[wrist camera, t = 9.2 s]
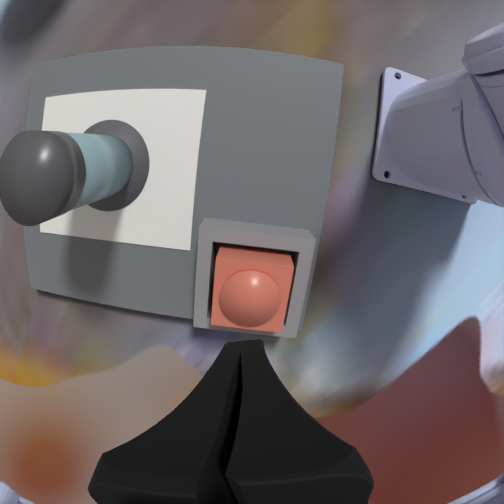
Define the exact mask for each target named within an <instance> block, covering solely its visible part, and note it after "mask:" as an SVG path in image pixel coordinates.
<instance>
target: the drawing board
mask: <svg viewBox="0 0 504 504" xmlns="http://www.w3.org/2000/svg"><path fill="white" fill-rule="evenodd" d="M343 70H344V64H340V63H336V62H331V61H327V60H322V59H317V58H311V57H306V56H300V55H294V54H288V53H281V52H274V51H266V50H257V49H246V48H234V47H217V46H155V47H138V48H126V49H116V50H107V51H100V52H92V53H86V54H80V55H74V56H69V57H64V58H59V59H54V60H49V61H45V62H41V63H37V64H35V65H34V70H33V75H32V81H31V86H30V92H29V99H28V106H27V113H26V122H25V131H28V130H39V131H60V132H66V133H85V134H100V135H112V136H116V137H118V138H120V139H122V140H123V141H124V142H125V143H126V144H127V145H128V147H129V149H130V151H131V153H132V157H133V172H132V176H131V178H130V180H129V182H128V184H127V185H126V187H125V188H124V189H123V190H122V191H120V192H119V193H117V194H115V195H113V196H110V197H107V198H104V199H101V200H98V201H95V202H92V203H90V204H87V205H84V206H81V207H79V208H76V209H73V210H71V211H68V212H67V213H65V214H63V215H61V216H58V217H56V218H53V219H51V220H48V221H46V222H43V223H41V224H38V225H36V226H24V225H23V227H24V239H25V250H26V259H27V267H28V274H29V281H30V287H31V288H34V289H38V290H42V291H46V292H50V293H54V294H59V295H63V296H67V297H72V298H77V299H81V300H86V301H91V302H96V303H101V304H106V305H111V306H116V307H121V308H127V309H132V310H138V311H144V312H149V313H155V314H162V315H168V316H174V317H181V318H188V319H194V326H193V327H199V328H206V329H214V330H222V331H230V332H238V333H247V334H257V335H267V336H278V337H289V338H296V335H297V331H301V330H302V326H303V321H304V317H305V312H306V308H307V303H308V298H309V294H310V289H311V284H312V279H313V274H314V269H315V264H316V259H317V254H318V249H319V243H320V238H321V232H322V227H323V221H324V215H325V209H326V203H327V197H328V191H329V185H330V178H331V171H332V164H333V157H334V150H335V143H336V135H337V127H338V118H339V110H340V101H341V91H342V81H343ZM221 244H224V245H232V246H241V247H249V248H258V249H266V250H275V251H283V252H289V253H290V256H291V259H292V262H293V265H294V270H293V275H292V281H291V286H290V292H289V297H288V303H287V308H286V313H285V318H284V323H283V328H282V332H271V331H261V330H252V329H242V328H234V327H225V326H217V325H211V315H212V301H213V288H214V276H215V264H216V256H217V254H218V251H219V248H220V246H221Z"/></svg>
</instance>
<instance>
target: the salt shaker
mask: <svg viewBox="0 0 504 504" xmlns="http://www.w3.org/2000/svg"><path fill="white" fill-rule="evenodd" d="M132 172H133V157H132V153H131V151H130V149H129V147H128V145H127V144H126V143H125V142H124V141H123V140H122V139H120V138H118V137H116V136H112V135H100V134H85V133H66V132H60V131H39V130H28V131H24V132H21V133H19V134H18V135H16V136H15V137H14V138H13V139H12V140H11V141H10V142H9V144H8V145H7V146H6V148H5V150H4V152H3V154H2V157H1V160H0V198H1V201H2V204H3V206H4V208H5V210H6V211H7V213H8V214H9V216H10V217H11V218H12V219H13V220H14V221H16V222H17V223H19V224H21V225H24V226H36V225H38V224H41V223H43V222H46V221H48V220H51V219H53V218H56V217H58V216H61V215H63V214H65V213H67V212H68V211H71V210H73V209H76V208H79V207H81V206H84V205H87V204H90V203H92V202H95V201H98V200H101V199H104V198H107V197H110V196H113V195H115V194H117V193H119V192H120V191H122V190H123V189H124V188H125V187H126V185H127V184H128V182H129V180H130V178H131V176H132Z"/></svg>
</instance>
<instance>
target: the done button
mask: <svg viewBox="0 0 504 504" xmlns="http://www.w3.org/2000/svg"><path fill="white" fill-rule="evenodd" d="M293 270H294V265H293V262H292V259H291V256H290V253H289V252H283V251H275V250H266V249H258V248H249V247H241V246H232V245H224V244H221V246H220V248H219V251H218V254H217V256H216V264H215V276H214V288H213V301H212V315H211V325H217V326H225V327H234V328H242V329H252V330H261V331H271V332H282V328H283V323H284V318H285V313H286V308H287V303H288V297H289V292H290V286H291V281H292V275H293Z"/></svg>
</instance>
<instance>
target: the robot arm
mask: <svg viewBox="0 0 504 504" xmlns="http://www.w3.org/2000/svg"><path fill="white" fill-rule="evenodd" d="M464 54H465V55H464V56H463V57H462V63H463V65H464V66H465V67H466V68H464V69H461V70H458V71H455V72H451V73H448V74H445V75H442V76H439V77H437V78H434V79H431V80H425V79H422V78H420V77H417V76H414V75H412V74H409V73H406V72H403V71H400V70H397V69H394V68H391V67H388V68H386V69H385V70H384V71H383V78H382V91H381V103H380V113H379V123H378V132H377V140H376V148H375V155H374V162H373V169H372V175H373V177H374V178H375V179H376V180H379V181H383V182H388V183H392V184H397V185H401V186H406V187H410V188H414V189H418V190H422V191H426V192H430V193H434V194H438V195H441V196H445V197H449V198H452V199H456V200H459V201H463V202H466V203H470V204H475V203H476V202H477V200H481V201H484V202H487V203H490V204H494V205H497V206H500V207H503V208H504V23H501V24H499V25H497V26H495V27H493V28H491V29H489V30H487V31H485V32H483V33H481V34H479V35H477V36H476V37H474V38H472V39H471V40H469V41H468V42H467V43H466V45H465V51H464ZM395 74H397V75H398V76H399V80H398V79H396V78H395ZM385 171H388V174H389V175H388V177H387V178H385V177H384V173H385ZM462 195H463V196H464V197H462ZM373 487H374V481H373V478H372V475H371V473H370V471H369V469H368V467H367V465H366V463H365V462H364V460H363V459H362V457H361V455H360V454H359V453H358V451H357V450H356V448H354V447H353V446H351V445H349V444H348V443H346V442H344V441H343V440H341V439H340V438H338V437H337V436H335V435H334V434H332V433H331V432H329V431H328V430H327V429H326V428H324V427H323V426H322V425H321V424H319V423H318V422H317V421H316V420H315V419H314V418H313V417H311V416H310V415H309V414H308V413H307V412H306V411H305V410H304V409H303V408H302V407H301V406H300V405H299V404H298V403H297V402H296V400H295V399H294V398H293V397H292V396H291V395H290V393H289V392H288V391H287V389H286V388H285V387H284V385H283V384H282V382H281V381H280V379H279V378H278V376H277V375H276V373H275V371H274V369H273V368H272V366H271V364H270V362H269V360H268V358H267V355H266V353H265V350H264V344H263V341H262V340H260V339H257V340H248V341H238V342H227V343H226V344H225V345H224V347H223V349H222V350H221V352H220V353H219V355H218V357H217V358H216V360H215V361H214V363H213V364H212V366H211V367H210V369H209V370H208V371H207V373H206V374H205V376H204V377H203V378H202V380H201V381H200V382H199V383H198V385H197V386H196V387H195V388H194V389H193V391H192V392H191V393H190V394H189V395H188V396H187V397H186V398H185V400H183V401H182V403H180V404H179V405H178V407H176V408H175V409H174V410H173V411H172V412H171V413H170V414H168V415H167V416H166V417H164V418H163V419H162V420H161V421H159V422H158V423H157V424H156V425H154V426H153V427H151V428H150V429H148V430H147V431H145V432H144V433H142V434H140V435H139V436H137V437H136V438H134V439H132V440H130V441H128V442H127V443H124V444H122V445H120V446H118V447H116V448H114V449H112V450H110V451H108V452H105V453H103V454H102V456H101V458H100V460H99V462H98V463H97V466H96V468H95V471H94V474H93V476H92V478H91V481H90V484H89V486H88V491H89V494H90V495H91V497H92V498H93V499H94V500H95V501H96V502H97V503H98V504H368V500H369V498H370V495H371V493H372V490H373ZM0 504H35V503H32V502H31V501H28V500H26V499H24V498H22V497H20V496H19V494H18V493H17V492H15V490H13V489H12V488H11V487H10V486H9V485H7V484H6V483H4V482H3V481H1V480H0ZM448 504H504V473H503V475H501V476H500V477H498V478H496V479H495V480H493V481H491V482H490V483H488V484H486V485H484V486H482V487H480V488H479V489H477V490H475V491H473V492H471V493H469V494H467V495H465V496H463V497H461V498H459V499H457V500H455V501H452V502H450V503H448Z"/></svg>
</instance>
